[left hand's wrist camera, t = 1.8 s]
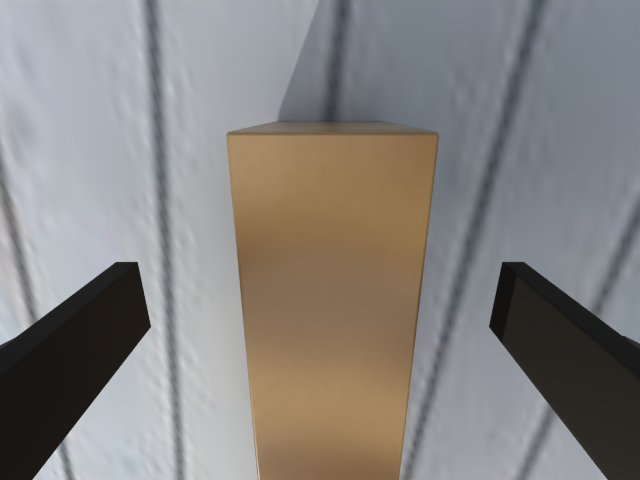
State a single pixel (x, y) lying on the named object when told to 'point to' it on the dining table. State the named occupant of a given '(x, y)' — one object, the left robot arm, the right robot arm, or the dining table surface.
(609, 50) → the dining table surface
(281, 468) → the bar
